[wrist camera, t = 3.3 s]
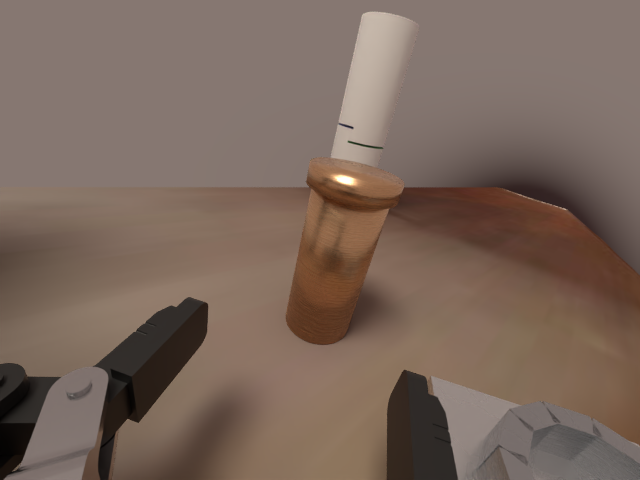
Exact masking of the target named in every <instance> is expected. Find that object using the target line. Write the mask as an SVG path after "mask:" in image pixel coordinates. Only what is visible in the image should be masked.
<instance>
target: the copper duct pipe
mask: <svg viewBox="0 0 640 480" xmlns="http://www.w3.org/2000/svg"><path fill="white" fill-rule="evenodd" d="M306 183H307V185H308V186H309V187H310V188H311V193H310V198H309V203H308V208H307V213H306V218H305V223H304V227H303V232H302V237H301V242H300V247H299V252H298V257H297V262H296V267H295V272H294V277H293V282H292V287H291V292H290V297H289V302H288V307H287V312H286V322H287V325H288V326H289V328H290V329H291V331H292V332H293V333H294V334H295V335H297V336H298V337H299V338H301V339H303V340H305V341H307V342H310V343H314V344H322V345H324V344H332V343H335V342H337V341H339V340H341V339H342V338H343V337H344V336H345V334H346V332H347V330H348V327H349V324H350V321H351V318H352V315H353V312H354V309H355V306H356V303H357V300H358V298H359V295H360V292H361V289H362V286H363V283H364V280H365V277H366V274H367V271H368V268H369V265H370V263H371V260H372V257H373V254H374V251H375V248H376V245H377V242H378V239H379V236H380V233H381V230H382V228H383V225H384V222H385V219H386V216H387V213H388V210H389V208H393V207H395V206H397V204H398V202H399V199H400V196H401V193H402V191H403V188H404V185H405V184H404V182H403V181H402V180H401V179H400V178H398V177H396V176H395V175H393V174H391V173H389V172H386V171H384V170H381V169H378V168H375V167H372V166H369V165H366V164H362V163H358V162H354V161H349V160H344V159H337V158H327V157H319V158H313V159H311V160H310V164H309V170H308V174H307V180H306Z"/></svg>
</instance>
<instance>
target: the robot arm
mask: <svg viewBox="0 0 640 480" xmlns="http://www.w3.org/2000/svg"><path fill="white" fill-rule="evenodd" d="M207 323H208V304H207V303H206V302H203V301H200V300H197V299H194V298H191V297H188V298H186V299H185V300H184V301H183V302H182V303H181V304H179V305H178V306H177V307H174V306H169V307H167V308H165V309H163V310H161V311H158V312H157V313H155V314H154V315H153V316H152V317H151V318H150V319H148V320H147V321H146V323H145V324H143V325H142V326H140V327H139V328H138V329H137V331H136V332H133V333H132V334H131V335H130V336H129V337H128V338H126V339H125V340H124V341H123V342H122V343H121V344H120V345H118V346H117V347H116V348H115V349H114V350H113V351H111V352H110V353H109V354H108V355H107V356H106V357H105V358H103V359H102V360H101V361H100V362H99V363H97V364H96V365H95V366H93V367H84V368H80V369H77V370H74V371H72V372H70V373H68V374H66V375H64V376H63V377H27V375H26V372H25V370H24V368H23V367H22V366H20V365H18V364H14V363H5V364H0V480H112V475H113V468H114V461H115V454H116V447H117V440H118V433H119V428H120V427H121V426H122V424H123V423H124V422H125V421H126V420H127V419H130V420H132V421H135V422H137V423H139V422H140V420H141V419H142V418H143V417H144V415H145V414H146V413H147V412H148V410H149V409H150V408H151V407H152V405H153V404H154V403H155V402H156V400H157V399H158V398H159V397H160V395H161V394H162V393H163V392H164V390H165V389H166V388H167V387H168V386H169V384H170V383H171V382H172V381H173V379H174V378H175V377H176V376H177V374H178V373H179V372H180V371H181V369H182V368H183V367H184V366H185V364H186V363H187V362H188V361H189V359H190V358H191V357H192V356H193V354H194V353H195V352H196V351H197V349H198V348H199V347H200V346H201V344H202V343H203V341H204V339H205V337H206V334H207ZM448 430H449V427H448V422H447V417H446V412H445V410H444V408H443V407H442V405H441V403H440V401H439V399H438V397H436V396H433V395H430V394H428V387H427V380H426V378H425V376H422V375H419V374H416V373H413V372H410V371H407V370H404V371H403V372H402V374H401V376H400V378H399V380H398V382H397V384H396V385H395V387H394V389H393V391H392V393H391V396H390V399H389V403H388V410H387V480H458V476H457V470H456V465H455V460H454V454H453V449H452V446H451V438H450V433H449V432H448ZM21 462H22V463H21ZM20 463H21V465H20V467H19V468H18V469H17V470H16V471H13V470H14V469H15V468H16V467H17V466H18V465H19V464H20ZM12 471H13V472H12Z"/></svg>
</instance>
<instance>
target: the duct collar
mask: <svg viewBox="0 0 640 480" xmlns="http://www.w3.org/2000/svg"><path fill="white" fill-rule="evenodd" d="M428 388H429V394H430V395H433V396H436V397H438V399H439V401H440V403H441V405H442V407H443V408H444V410H445V412H446V417H447V422H448V427H449V430H448V432H449V433H450V438H451V446H452V449H453V454H454V460H455V465H456V470H457V476H458V480H640V446H639V445H638V444H636V443H633V442H630V441H628V440H627V439H625V438H623V437H622V436H620V435H619V434H617V433H615V432H614V431H612V430H611V429H609V428H608V427H606V426H604V425H603V424H601V423H600V422H598V421H597V420H595V419H593V418H592V419H591V418H590V417H589V416H587V415H584V414H580V413H577V412H574V411H571V410H568V409H565V408H562V407H559V406H556V405H553V404H550V403H547V402H544V401H543V402H541V401H539V402H534V403H530V404H526V405H522V406H521V405H518V404H515V403H512V402H509V401H506V400H503V399H500V398H497V397H494V396H491V395H488V394H485V393H482V392H479V391H476V390H473V389H470V388H467V387H464V386H461V385H457V384H454V383H451V382H448V381H445V380H442V379H439V378H436V377H433V376H431V377H430V378H429V380H428Z"/></svg>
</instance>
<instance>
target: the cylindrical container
mask: <svg viewBox="0 0 640 480" xmlns="http://www.w3.org/2000/svg"><path fill="white" fill-rule="evenodd" d="M418 31H419V25H418V24H417V23H415V22H414V21H412V20H410V19H407V18H404V17H401V16H398V15H394V14H389V13H383V12H367V13H364V14H363V15H362V18H361V23H360V27H359V32H358V37H357V41H356V45H355V50H354V54H353V59H352V63H351V68H350V72H349V77H348V81H347V86H346V90H345V95H344V100H343V104H342V109H341V113H340V118H339V122H340V123H342V124H338V127H337V131H336V135H335V140H334V144H333V149H332V153H331V158H337V159H344V160H349V161H354V162H358V163H362V164H366V165H369V166H372V167H375V168H377V167H378V164H379V161H380V157H381V154H382V151H383V148H382V147H384V144H385V141H386V137H387V134H388V131H389V127H390V124H391V121H392V118H393V114H394V110H395V108H396V104H397V101H398V98H399V94H400V91H401V88H402V84H403V81H404V78H405V74H406V71H407V67H408V64H409V61H410V57H411V54H412V51H413V48H414V44H415V41H416V37H417V34H418Z"/></svg>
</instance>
